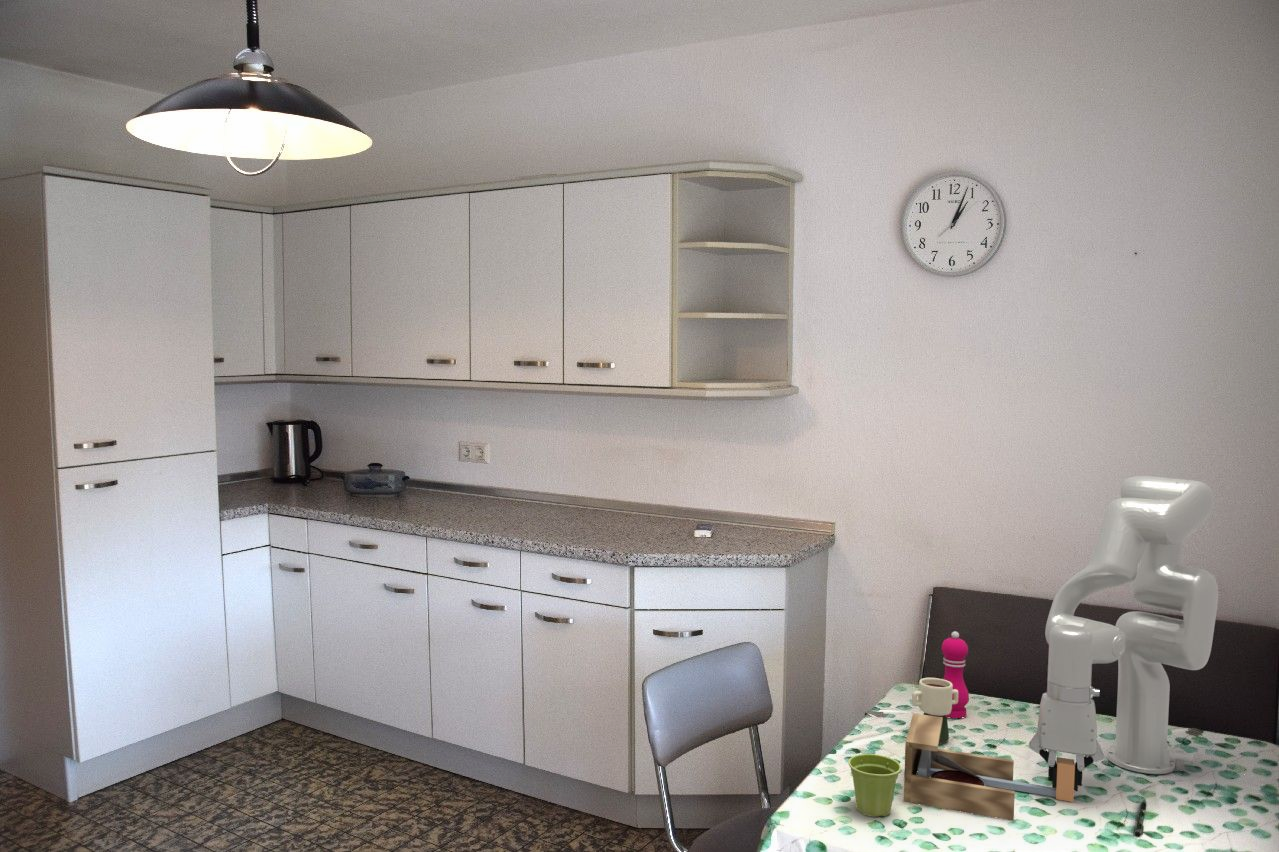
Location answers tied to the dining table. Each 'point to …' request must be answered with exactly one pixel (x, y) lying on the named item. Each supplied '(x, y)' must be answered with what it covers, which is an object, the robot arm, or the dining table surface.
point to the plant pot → (874, 783)
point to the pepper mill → (956, 672)
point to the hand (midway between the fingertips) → (1064, 785)
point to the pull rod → (1060, 792)
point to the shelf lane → (954, 793)
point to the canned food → (955, 772)
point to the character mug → (936, 701)
